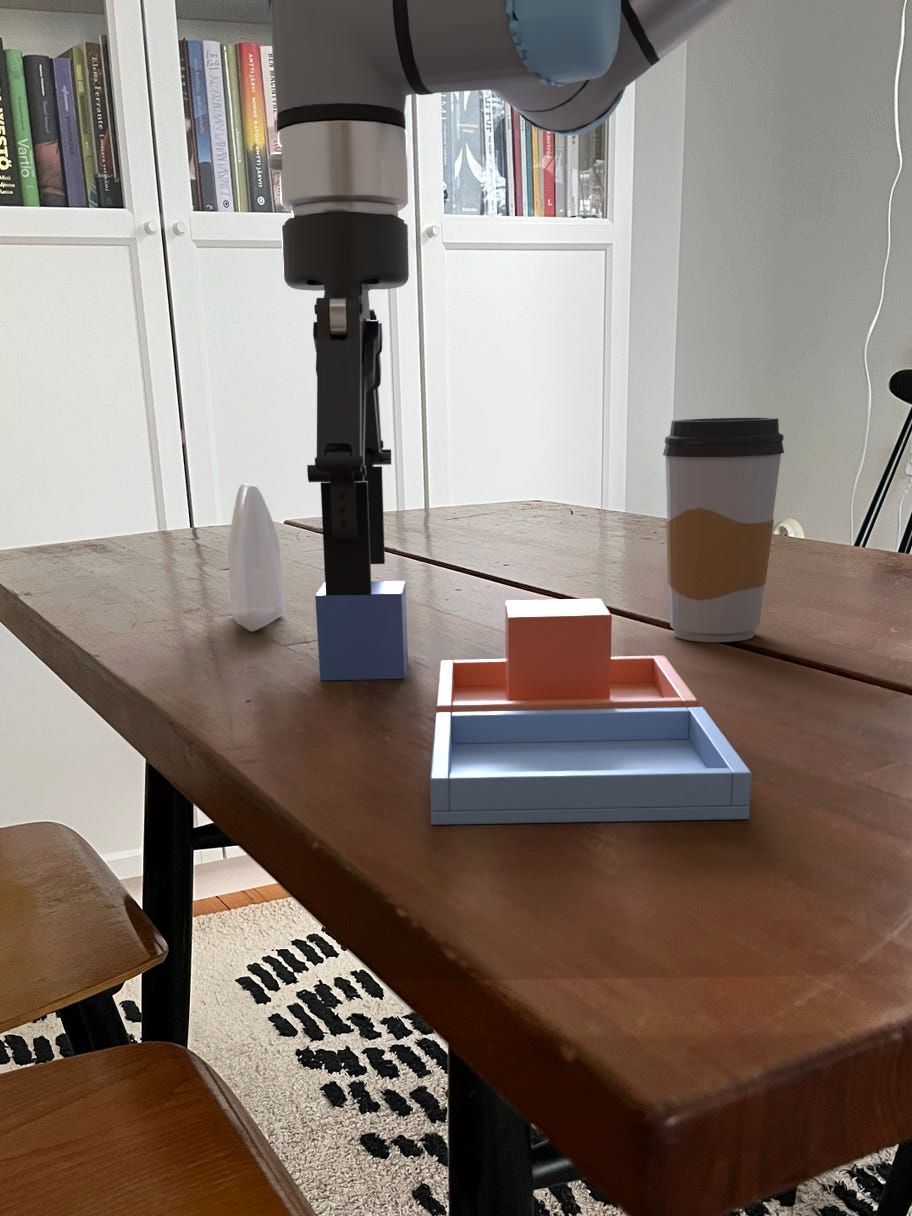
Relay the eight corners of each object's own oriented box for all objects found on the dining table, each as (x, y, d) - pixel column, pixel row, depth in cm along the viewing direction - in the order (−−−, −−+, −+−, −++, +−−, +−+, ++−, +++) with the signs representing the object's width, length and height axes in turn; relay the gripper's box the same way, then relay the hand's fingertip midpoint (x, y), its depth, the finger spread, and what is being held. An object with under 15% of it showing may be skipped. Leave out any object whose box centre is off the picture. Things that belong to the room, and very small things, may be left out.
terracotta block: (599, 692, 74) (601, 598, 72) (609, 715, 69) (611, 614, 67) (505, 694, 74) (505, 600, 72) (509, 717, 69) (508, 617, 67)
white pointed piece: (286, 635, 97) (277, 486, 93) (232, 638, 97) (219, 488, 93) (284, 610, 108) (275, 476, 104) (235, 612, 108) (224, 478, 104)
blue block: (408, 661, 87) (405, 580, 85) (404, 679, 82) (401, 593, 80) (328, 663, 87) (324, 582, 85) (320, 680, 82) (315, 595, 80)
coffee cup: (788, 629, 94) (803, 416, 89) (747, 649, 87) (760, 421, 82) (684, 621, 98) (692, 417, 93) (637, 639, 92) (643, 422, 87)
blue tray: (701, 746, 65) (703, 706, 64) (749, 819, 54) (752, 772, 53) (436, 751, 65) (435, 712, 64) (431, 825, 54) (430, 778, 54)
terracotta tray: (663, 689, 77) (665, 655, 76) (696, 739, 66) (698, 700, 65) (441, 694, 77) (440, 660, 77) (437, 744, 66) (436, 705, 66)
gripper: (306, 238, 87) (320, 553, 94) (247, 186, 63) (273, 611, 71) (415, 236, 86) (421, 552, 94) (396, 183, 63) (406, 609, 70)
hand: (357, 578), depth 82 cm, fingers open, 13 cm apart
